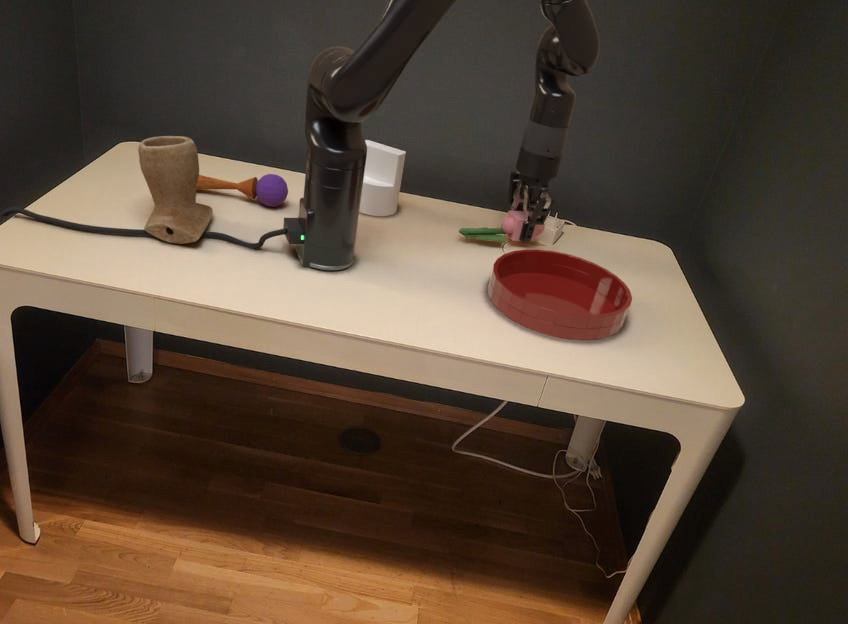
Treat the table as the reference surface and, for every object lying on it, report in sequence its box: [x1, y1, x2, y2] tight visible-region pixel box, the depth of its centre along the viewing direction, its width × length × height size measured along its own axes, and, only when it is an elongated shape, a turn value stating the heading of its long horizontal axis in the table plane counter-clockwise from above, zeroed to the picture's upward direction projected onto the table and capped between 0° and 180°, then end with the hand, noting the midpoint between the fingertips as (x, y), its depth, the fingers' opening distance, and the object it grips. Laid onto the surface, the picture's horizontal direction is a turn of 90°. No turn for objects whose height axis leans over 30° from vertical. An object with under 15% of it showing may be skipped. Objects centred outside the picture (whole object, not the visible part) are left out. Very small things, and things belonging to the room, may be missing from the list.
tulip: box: [458, 210, 546, 243], centre depth 139 cm, size 17×6×4 cm, turn 106°
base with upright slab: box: [359, 139, 407, 217], centre depth 144 cm, size 9×9×12 cm
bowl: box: [487, 249, 633, 341], centre depth 121 cm, size 22×22×4 cm
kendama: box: [196, 173, 289, 207], centre depth 140 cm, size 6×6×20 cm
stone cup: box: [137, 135, 214, 245], centre depth 124 cm, size 15×12×15 cm
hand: (519, 235), depth 141 cm, fingers closed on tulip, 4 cm apart
